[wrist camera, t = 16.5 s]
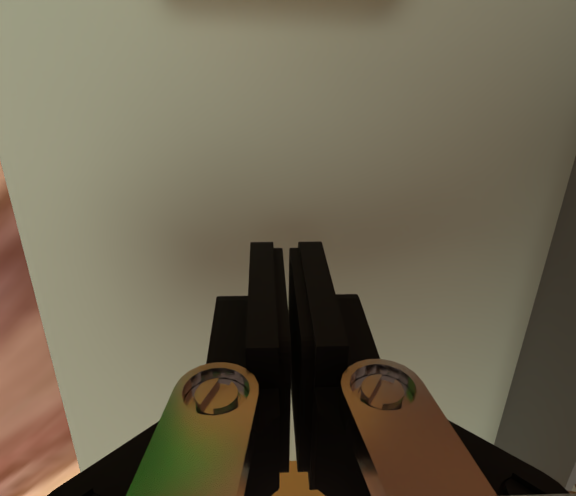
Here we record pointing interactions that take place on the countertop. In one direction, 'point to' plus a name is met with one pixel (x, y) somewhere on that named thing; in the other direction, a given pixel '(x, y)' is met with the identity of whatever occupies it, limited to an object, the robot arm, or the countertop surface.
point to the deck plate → (301, 194)
